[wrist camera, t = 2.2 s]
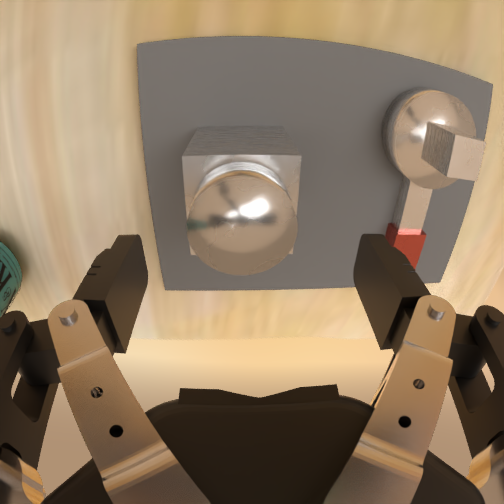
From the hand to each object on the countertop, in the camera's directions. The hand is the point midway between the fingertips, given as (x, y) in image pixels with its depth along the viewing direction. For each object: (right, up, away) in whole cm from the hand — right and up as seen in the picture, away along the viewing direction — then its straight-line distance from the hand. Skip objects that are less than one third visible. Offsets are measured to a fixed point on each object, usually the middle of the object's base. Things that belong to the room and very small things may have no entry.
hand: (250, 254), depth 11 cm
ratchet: (+11, +4, +9) cm, 15 cm away
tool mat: (+5, +5, +9) cm, 12 cm away
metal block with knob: (-1, +5, +8) cm, 10 cm away
